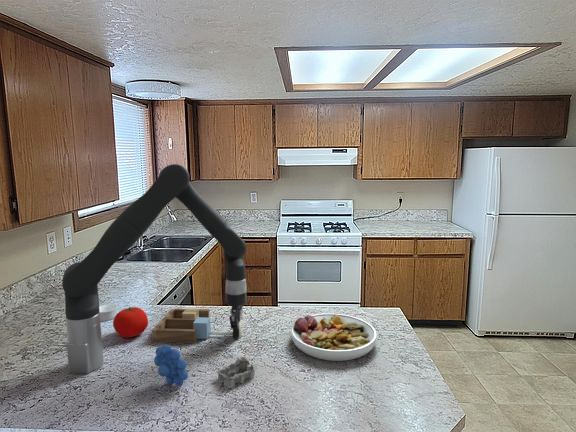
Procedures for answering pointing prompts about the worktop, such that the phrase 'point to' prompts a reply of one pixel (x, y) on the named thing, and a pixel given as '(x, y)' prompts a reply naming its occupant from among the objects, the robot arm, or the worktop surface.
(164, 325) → the lane rack
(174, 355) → the grapes
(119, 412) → the worktop surface
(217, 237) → the robot arm
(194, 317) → the plain oak block
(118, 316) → the tomato
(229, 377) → the egg carton
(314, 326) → the bowl
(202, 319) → the tethered block
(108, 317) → the ramekin
